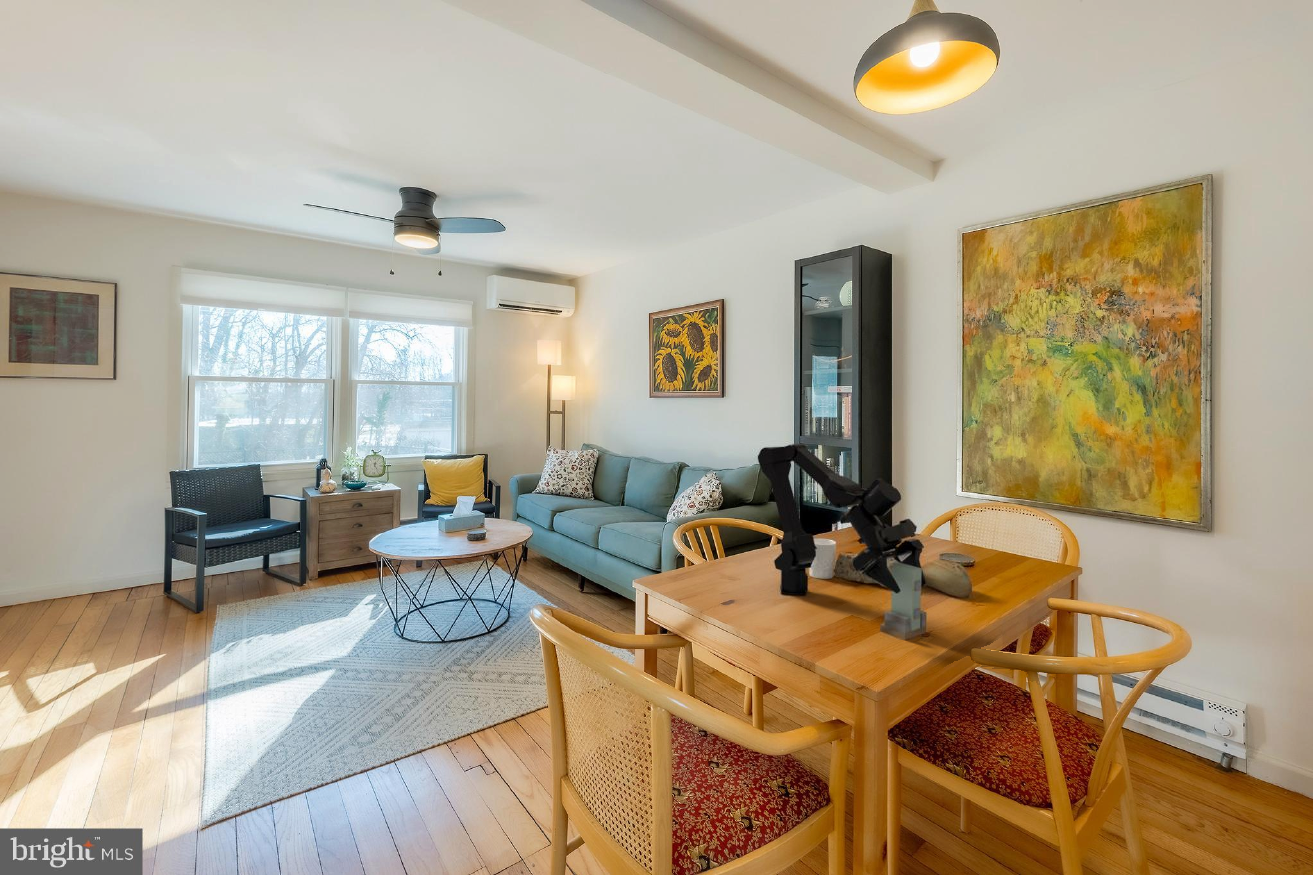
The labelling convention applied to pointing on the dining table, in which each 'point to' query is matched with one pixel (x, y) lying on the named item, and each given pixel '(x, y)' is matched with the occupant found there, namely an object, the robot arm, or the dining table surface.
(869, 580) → the rock
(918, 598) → the pale green tall block
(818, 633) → the dining table surface
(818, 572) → the white cup
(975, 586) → the dining table surface
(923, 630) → the hinge jig
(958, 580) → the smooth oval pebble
